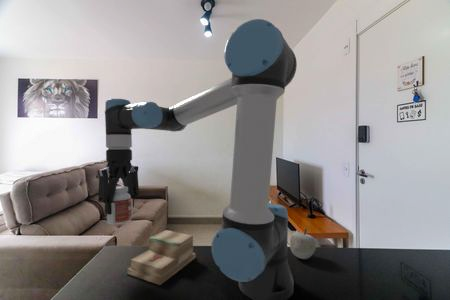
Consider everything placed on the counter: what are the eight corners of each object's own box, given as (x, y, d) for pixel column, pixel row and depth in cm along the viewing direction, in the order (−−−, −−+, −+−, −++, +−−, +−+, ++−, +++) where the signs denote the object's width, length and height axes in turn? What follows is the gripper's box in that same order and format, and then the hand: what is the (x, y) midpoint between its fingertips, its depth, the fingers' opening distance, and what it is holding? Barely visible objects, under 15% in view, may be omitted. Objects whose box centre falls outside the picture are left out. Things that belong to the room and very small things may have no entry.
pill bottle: (133, 222, 74) (132, 187, 74) (111, 226, 71) (111, 189, 71) (129, 217, 79) (128, 185, 79) (109, 221, 76) (108, 187, 76)
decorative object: (287, 260, 81) (287, 231, 80) (292, 250, 89) (292, 223, 88) (314, 266, 77) (315, 235, 77) (317, 254, 85) (317, 227, 84)
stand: (195, 257, 82) (195, 234, 82) (160, 285, 66) (160, 256, 66) (166, 250, 88) (166, 228, 88) (127, 273, 72) (126, 247, 71)
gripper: (134, 148, 85) (135, 212, 86) (82, 149, 68) (83, 228, 68) (149, 148, 82) (151, 214, 82) (99, 148, 65) (101, 232, 65)
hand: (120, 220), depth 75 cm, fingers closed on pill bottle, 6 cm apart
